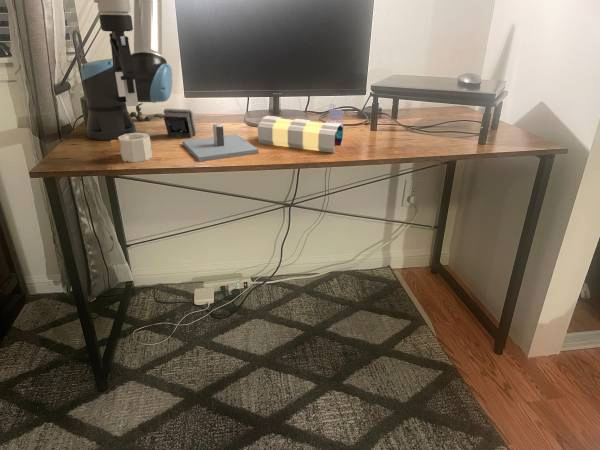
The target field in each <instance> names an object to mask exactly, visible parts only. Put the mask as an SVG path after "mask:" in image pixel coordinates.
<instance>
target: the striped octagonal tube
mask: <svg viewBox="0 0 600 450" xmlns="http://www.w3.org/2000/svg"><path fill="white" fill-rule="evenodd" d="M330 106H332V108H329V109H328V113H329V117H327V121H325V122H317V121H316V122H314V121H312V120H311V119H301V118H295V119H288V118H287V119H286V118H283V117H282V116H275V115H274V116H273V115H266V116H265V115H264V116H263V117H262V118H261V120H260V122H258V125H257V141H258V143H259V144H263V145H271V146H278V147H286V148H294V149H302V150H310V151H315V152H316V151H318V152H324V153H332V154H333V153H335V152H336V151H335V146H339V147H341V146H342V144H343V140H344V122H343V118H342V116H343V110H340V107H337V106H335V104H334V103H331V104H330ZM338 119H339V121H338Z"/></svg>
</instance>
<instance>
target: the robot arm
mask: <svg viewBox="0 0 600 450" xmlns="http://www.w3.org/2000/svg"><path fill="white" fill-rule="evenodd" d="M93 2H94V3H96V4H97V10H98V12H100V13H101V14H99V16H98V18H99V24H100V29H101V30H102V31H103V32H109V34H108V35H109V43H110V46H111V58H105V59H99V60H94V61H88V62H85V63H83V64H82V65H81V66H80V67H81V68H80V74H81V81H82V85H83V86H82V87H83V91H84V95H85V99H86V105H87V110H88V116H87V121H86V122H87V123H86V131H85V132H86V135H87V138H89V139H91V140H96V141H97V140H98V141H111V140H118V137H119V136H122V135H124V134H129V133H137V130H136V124H135V123H134V121H133V119H132V117H130V112H129V111H128V107H134V106H135V107H136V106H137V105H138V104H139V103H152V104H153V103H154V104H155V103H160V102H161V103H162V102H163V103H164V102H167V101H168V100H169V99H170V97H171V95H172V89H173V72H172V71H173V70H172V66H171V65H170V64H168V62H167V60H166V58H165V57H164V56H163V43H162V42H163V37H162V36H163V33H162V32H163V31H162V28H163V27H162V26H163V25H162V24H163V20H162V19H163V18H162V17H163V15H162V14H163V13H162V12H163V11H162V8H163V6H162V3H163V2H162V0H133V20H132V16H131V14H129V13H130V12H131V4H130V2H131V1H130V0H93ZM125 32H133V52H132V53H131V49H130V48H131V47H130V42H129V37H128V36H127V35H125V34H126V33H125Z"/></svg>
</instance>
